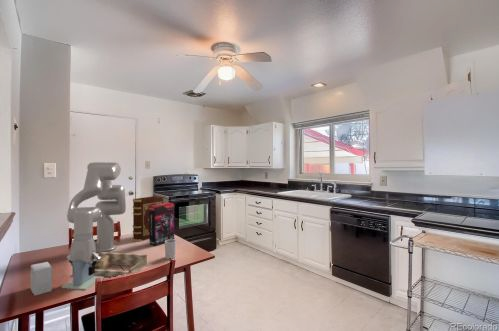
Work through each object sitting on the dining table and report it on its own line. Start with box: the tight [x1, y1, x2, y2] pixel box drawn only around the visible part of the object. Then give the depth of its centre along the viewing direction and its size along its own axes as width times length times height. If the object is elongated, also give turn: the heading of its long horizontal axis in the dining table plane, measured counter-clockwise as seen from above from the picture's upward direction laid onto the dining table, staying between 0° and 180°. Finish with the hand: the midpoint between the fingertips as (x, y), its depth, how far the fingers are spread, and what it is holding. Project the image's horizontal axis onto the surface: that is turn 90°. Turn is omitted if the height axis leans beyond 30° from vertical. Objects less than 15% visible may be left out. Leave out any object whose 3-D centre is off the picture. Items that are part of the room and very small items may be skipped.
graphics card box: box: [149, 202, 175, 247], centre depth 181 cm, size 17×7×27 cm, turn 147°
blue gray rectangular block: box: [72, 261, 95, 286], centre depth 121 cm, size 3×9×11 cm, turn 173°
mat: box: [61, 275, 105, 291], centre depth 121 cm, size 12×12×1 cm
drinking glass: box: [164, 238, 177, 260], centre depth 153 cm, size 7×7×10 cm
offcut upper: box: [94, 255, 109, 267], centre depth 136 cm, size 6×8×3 cm
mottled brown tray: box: [94, 251, 148, 277], centre depth 135 cm, size 28×15×6 cm, turn 83°
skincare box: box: [29, 261, 53, 296], centre depth 114 cm, size 10×6×10 cm, turn 48°
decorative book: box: [132, 195, 164, 242], centre depth 193 cm, size 22×8×30 cm, turn 148°
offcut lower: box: [95, 261, 113, 270], centre depth 136 cm, size 7×9×3 cm
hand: (83, 273), depth 121 cm, fingers open, 7 cm apart
